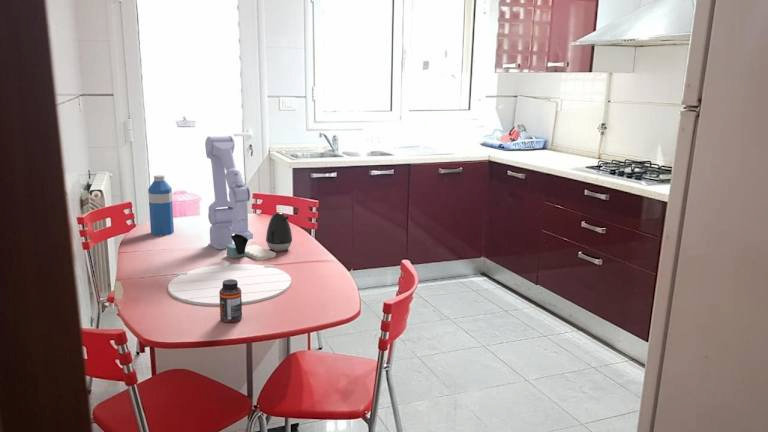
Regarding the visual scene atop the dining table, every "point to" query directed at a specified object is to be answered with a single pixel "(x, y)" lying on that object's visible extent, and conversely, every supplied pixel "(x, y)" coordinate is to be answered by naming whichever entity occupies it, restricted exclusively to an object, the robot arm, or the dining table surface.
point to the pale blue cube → (233, 251)
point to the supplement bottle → (230, 301)
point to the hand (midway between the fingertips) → (240, 253)
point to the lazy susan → (209, 280)
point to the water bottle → (160, 207)
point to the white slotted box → (258, 252)
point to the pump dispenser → (279, 233)
